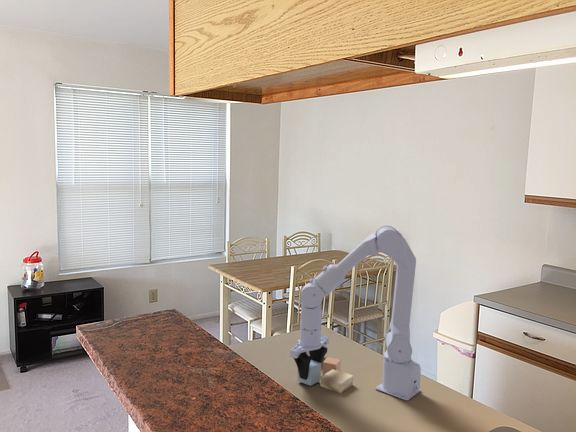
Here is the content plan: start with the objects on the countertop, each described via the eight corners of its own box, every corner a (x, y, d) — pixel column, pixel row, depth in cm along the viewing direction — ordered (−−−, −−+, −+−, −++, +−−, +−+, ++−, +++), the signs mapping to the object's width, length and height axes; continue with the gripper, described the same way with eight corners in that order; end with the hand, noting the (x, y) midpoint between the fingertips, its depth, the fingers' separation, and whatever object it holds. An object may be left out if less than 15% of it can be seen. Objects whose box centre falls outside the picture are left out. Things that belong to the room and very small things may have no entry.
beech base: (352, 385, 132) (353, 375, 132) (340, 394, 127) (341, 383, 127) (332, 379, 136) (333, 368, 136) (320, 387, 131) (320, 376, 130)
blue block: (320, 380, 133) (321, 363, 132) (310, 385, 130) (311, 368, 129) (307, 375, 136) (308, 358, 135) (297, 380, 132) (298, 363, 132)
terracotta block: (339, 372, 140) (340, 359, 139) (335, 378, 136) (336, 364, 136) (326, 370, 141) (327, 357, 141) (322, 375, 138) (322, 362, 137)
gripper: (315, 318, 139) (313, 363, 141) (282, 330, 128) (280, 379, 130) (335, 323, 135) (333, 370, 136) (302, 337, 124) (301, 387, 125)
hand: (309, 375), depth 133 cm, fingers closed on blue block, 4 cm apart
